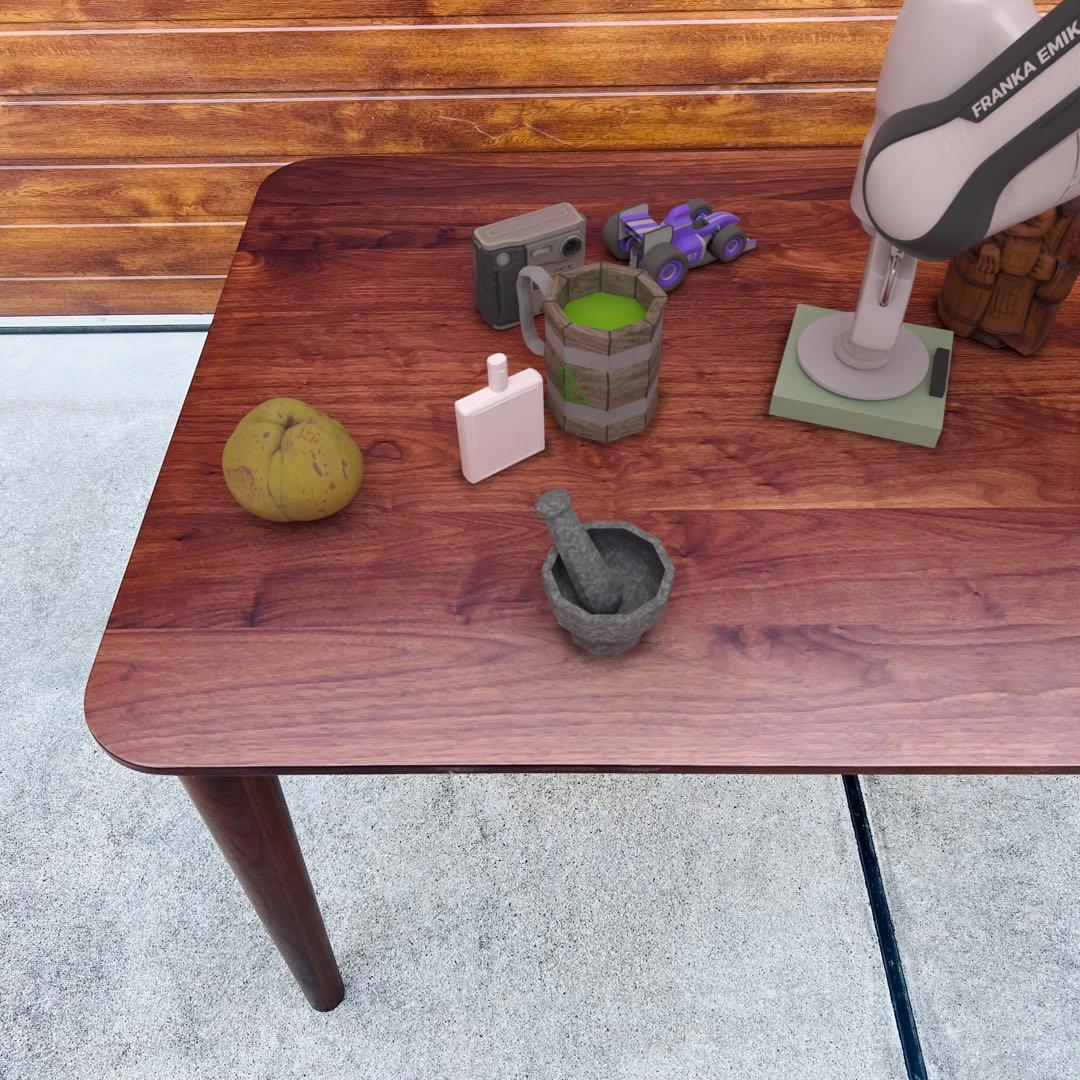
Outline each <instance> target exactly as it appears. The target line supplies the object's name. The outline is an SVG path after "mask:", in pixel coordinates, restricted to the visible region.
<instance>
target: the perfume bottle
mask: <svg viewBox="0 0 1080 1080" xmlns="http://www.w3.org/2000/svg"><path fill="white" fill-rule="evenodd" d="M486 366H487V367H486V368H487V381H488V386H485V387H484V388H481V389H479V390H478V391H474V392H473V393H471V394H469V395H467V396H464V397H463V398H460V399H458V400H456V401H455V402H454V411H455V419H456V429H457V438H458V445H459V453H460V463H461V469H462V475H463V477H464V478H465V479H466V480H467V481H468V483H470V484H472V485H473V484H474V485H475V484H477V483H479V482H480V481H483V480H484V479H487V478H488V477H491V476H493V475H495V474H497V473H498V472H501V471H503V470H505V469H508V468H509V467H511V466H514V465H516V464H517V463H519V462H521V461H524V460H526V459H527V458H530V457H532V456H534V455H536V454H538V453H540V452H542V451H544V450H545V449H546V442H545V440H546V439H545V410H544V409H545V408H544V406H545V403H544V379H543V377H542V374H540V372H538V371H537V370H536V369H535V368H532V367H528V368H526V369H524V370H522V371H519V372H517V373H514V374H513V375H510V376H509V372H508V357H507V356H506V355H505V354H504V353H501V352H497V353H494V354H492V355H489V357H487V360H486Z"/></svg>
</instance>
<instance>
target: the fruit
mask: <svg viewBox="0 0 1080 1080" xmlns="http://www.w3.org/2000/svg"><path fill="white" fill-rule="evenodd" d="M221 466H222V473H223V477H224V481H225V482H226V485H227V488H228V490H229V491H230V493H231V495H232V496H233V497H234V499H235V501H236V502H237V503H238V504H239V505H240V507H242V508H243V509H244V510H246V511H247V512H249V513H250V514H251V515H255V516H256V517H259V518H262V519H264V520H267V521H272V522H279V523H280V522H281V523H286V522H288V523H289V522H309V521H314V520H320V519H323V518H325V517H329V516H331V515H333V514H336V513H337V512H338V511H340V510H342V509H344V508H345V507H347V506H348V505H349V504H350V503H351V501H352V500H353V499H354V498H355V497H356V495H357V493H358V491H359V489H360V487H361V486H362V482H363V479H364V473H365V464H364V457H363V455H362V452H361V450H360V447H359V446H358V445H357V443H356V442H355V440H354V439H353V438H352V437H351V435H350V433H349V432H348V430H347V429H346V427H345V426H344V425H343V424H342V423H341V422H340V421H338V420H337V419H334V418H332V417H330V416H329V415H328V414H326V413H324V412H323V411H320V409H317V408H316V407H315V406H314V405H311V404H310V403H307V402H304V401H303V400H300V399H297V398H293V397H276V398H271V399H267V400H266V401H264V402H262V403H260V404H259V405H257V406H256V407H255V408H252V410H250V411H249V412H248V413H247V414H246V415H245V416H244V417H243V418H242V419H241V420H240V421H239V422H238V424H237V426H236V427H235V429H234V431H233V433H232V434H231V435H230V436H229V438H228V440H227V441H226V443H225V445H224V448H223V453H222V458H221Z"/></svg>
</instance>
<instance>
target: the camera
mask: <svg viewBox="0 0 1080 1080" xmlns="http://www.w3.org/2000/svg"><path fill="white" fill-rule="evenodd" d="M587 221H588V220H587V217H586V216H585V215H584V214H583V213H582V212H580V213H579V211H577V209H576V207H574V206H573V205H572V203H569V202H561V203H558V204H554V205H550V206H547V207H544V208H541V209H538V210H534V211H531V212H528V213H525V214H520V215H517V216H514V217H510V218H507V219H503V220H500V221H497V222H493V223H490V224H487V225H483V226H480V227H477V228H476V229H474V230H473V234H472V236H471V238H470V245H471V253H472V272H473V280H474V281H473V282H474V283H473V284H474V297H475V298H474V299H475V306H476V308H477V311H478V312H479V313H480V314H481V319H482V320H483V321H484V322H485V323H486V324H487V325H489V326H490V327H492V328H493V329H494V330H497V331H504V330H508V329H510V328H513V327H516V326H519V325H521V324H520V313H519V301H518V294H517V287H516V283H517V279H518V276H519V272H520V271H521V270H522V269H523V268H524V267H526V266H540V267H542V268H543V269H544V270H545V271H546V272H547V273H548V274H549V275H550V276H551V278H552V280H553V281H554V280H555V278H556V277H557V275H558V274H559V273H562V272H566V271H569V270H572V269H576V268H579V267H582V266H586V262H585V261H586V240H587V239H586V237H587V236H586V235H587V234H586V231H587V230H586V228H587ZM530 287H531V293H532V299H533V314H534V317H535V316H539V315H541V314H544V311H543V305H542V300H543V299H544V297H545V296H544V295H543V293H542V292H541V290H540V288H539V287H538V285H537V284H536V283H535V282H534V281H533V280H532V279H531V278H530Z"/></svg>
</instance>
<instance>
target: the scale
mask: <svg viewBox="0 0 1080 1080" xmlns="http://www.w3.org/2000/svg"><path fill="white" fill-rule="evenodd" d="M795 308H796V309H795V313H794V316H793V319H792V323H791V327H790V331H789V334H788V337H787V342H786V345H785V348H784V352H783V355H782V359H781V362H780V367H779V369H778V373H777V378H776V380H775V383H774V384H775V385H774V388H773V392H772V395H771V400H770V405H769V408H768V415H770V416H775V417H779V418H785V419H790V420H795V421H799V422H805V423H810V424H813V425H819V426H824V427H828V428H834V429H839V430H843V431H848V432H853V433H858V434H863V435H866V436H873V437H877V438H881V439H882V438H883V439H886V440H892V441H897V442H901V443H907V444H911V445H917V446H919V447H926V448H931V449H935V448H936V446H937V443H938V440H939V438H940V435H941V433H942V430H943V426H944V418H945V411H946V410H945V409H946V400H947V392H948V383H949V378H950V377H949V375H950V368H951V361H952V360H951V359H952V351H953V342H954V334H955V333H954V331H951V330H950V329H948V330H947V329H942V328H938V327H931V326H926V325H920V324H914V323H908V322H904V321H903V322H902V325H901V329H900V332H899V335H898V338H897V341H896V344H895V346H894V348H893V355H892V358H891V359H890V361H889V362H888V363H887V364H886V365H884V366H883V367H880V368H877V369H872V370H861V369H856V368H853V367H850V366H848V365H846V364H845V363H843V362H842V361H841V360H840V359H839V358H838V357H837V356H836V354H835V352H834V342H835V340H836V338H837V337H838V336H839V335H840V334H841V333H843V332H844V331H847V330H850V329H851V327H852V322H853V318H854V313H855V311H842V310H837V309H832V308H826V307H820V306H814V305H811V304H804V303H797V305H796V307H795Z"/></svg>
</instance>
